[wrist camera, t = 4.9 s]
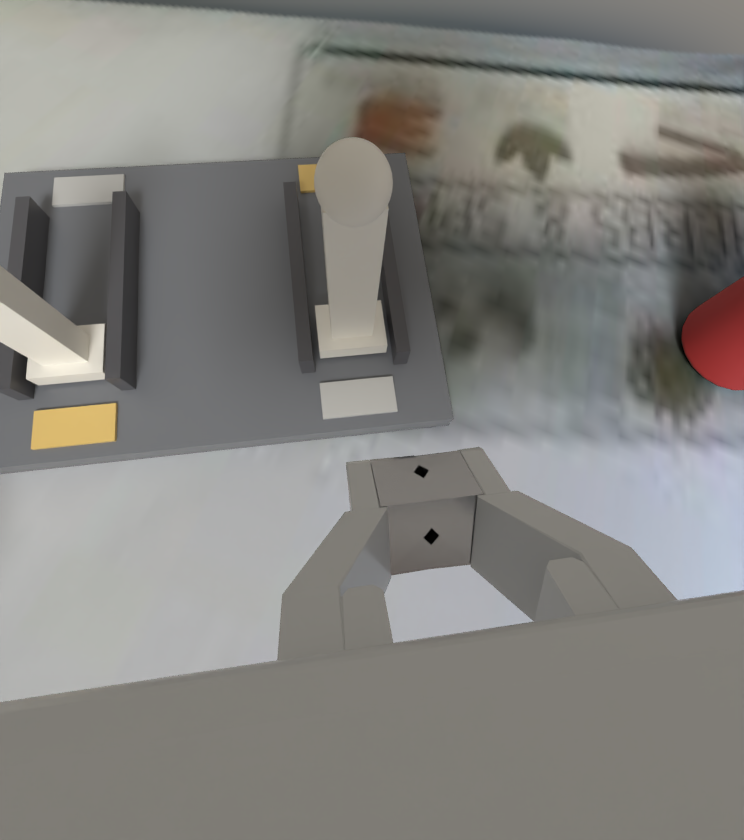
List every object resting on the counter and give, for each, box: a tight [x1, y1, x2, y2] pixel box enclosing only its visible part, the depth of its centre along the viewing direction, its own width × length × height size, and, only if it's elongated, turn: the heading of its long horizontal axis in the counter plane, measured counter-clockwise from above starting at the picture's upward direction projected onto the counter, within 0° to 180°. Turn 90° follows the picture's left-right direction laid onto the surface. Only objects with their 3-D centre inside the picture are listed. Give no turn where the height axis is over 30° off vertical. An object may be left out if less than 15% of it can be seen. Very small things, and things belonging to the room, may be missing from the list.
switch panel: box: [0, 153, 454, 474], centre depth 27 cm, size 27×20×3 cm
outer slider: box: [314, 137, 393, 359], centre depth 20 cm, size 4×3×13 cm
